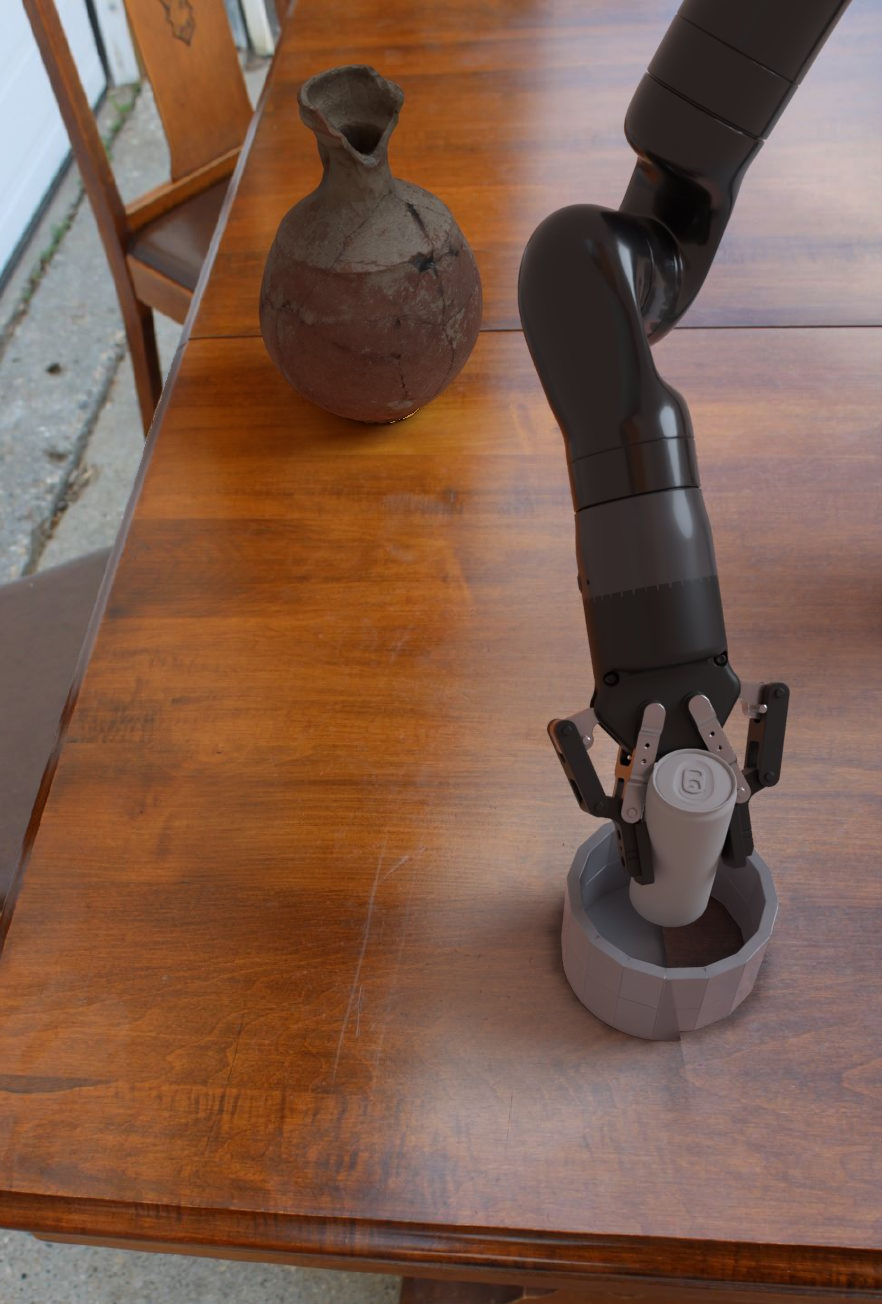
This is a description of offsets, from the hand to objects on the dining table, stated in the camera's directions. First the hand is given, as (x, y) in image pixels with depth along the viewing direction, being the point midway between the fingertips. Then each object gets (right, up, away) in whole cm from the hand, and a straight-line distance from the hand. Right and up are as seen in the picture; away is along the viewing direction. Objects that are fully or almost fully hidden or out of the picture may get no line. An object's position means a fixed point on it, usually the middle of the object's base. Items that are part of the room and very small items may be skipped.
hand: (689, 872), depth 70 cm
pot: (+1, -6, +11) cm, 12 cm away
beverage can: (0, -2, +6) cm, 6 cm away
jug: (-17, +46, +54) cm, 72 cm away
